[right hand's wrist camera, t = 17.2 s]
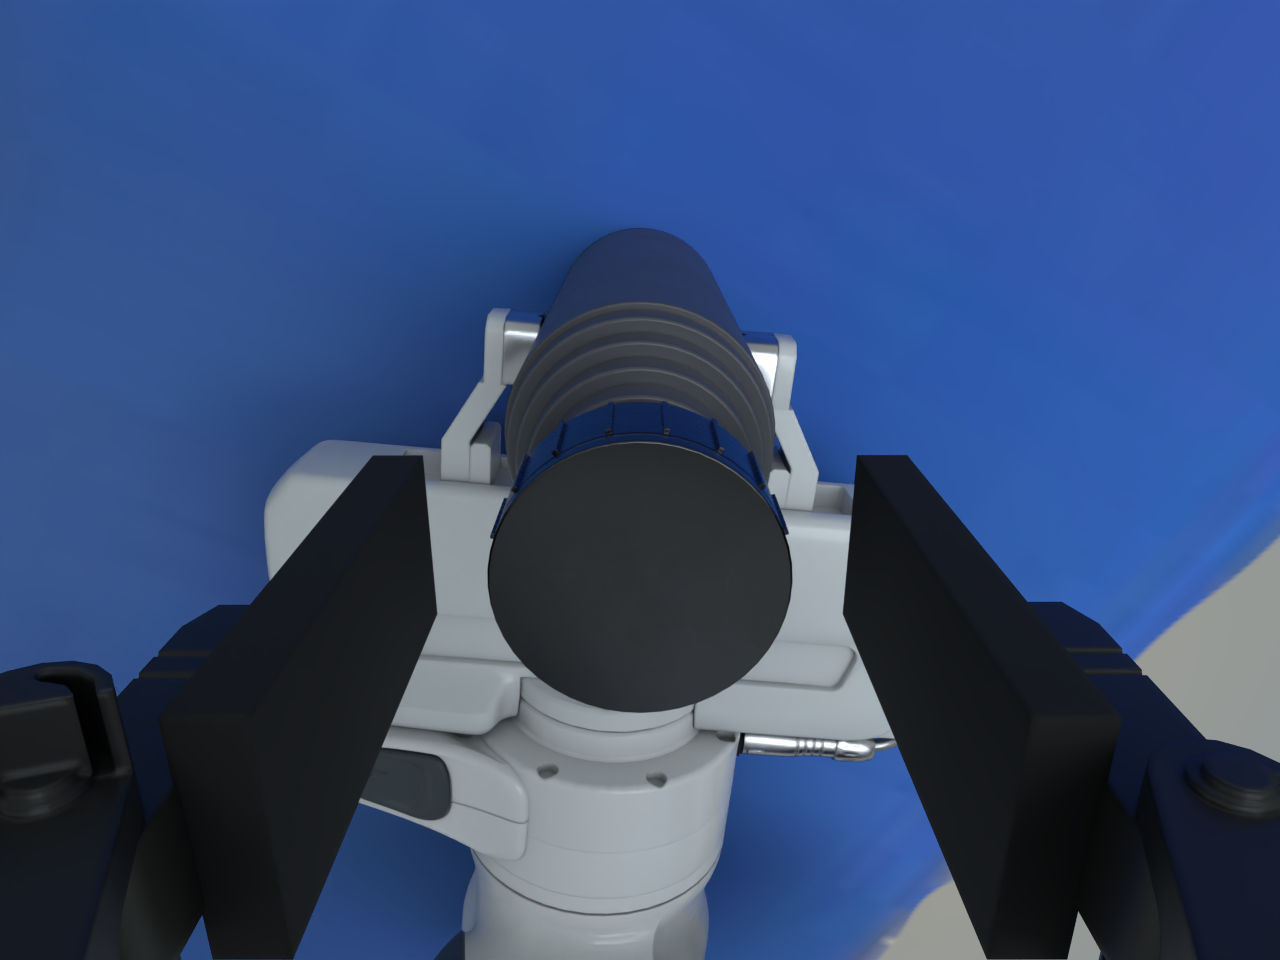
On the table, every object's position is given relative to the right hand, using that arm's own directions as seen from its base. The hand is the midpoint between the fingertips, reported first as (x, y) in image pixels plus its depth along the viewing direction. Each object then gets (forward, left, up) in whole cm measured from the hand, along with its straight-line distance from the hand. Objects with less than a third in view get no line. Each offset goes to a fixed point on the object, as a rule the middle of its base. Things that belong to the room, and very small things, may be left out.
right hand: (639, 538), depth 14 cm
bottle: (0, 0, -19) cm, 19 cm away
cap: (0, 0, +1) cm, 1 cm away
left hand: (0, +1, -12) cm, 12 cm away
